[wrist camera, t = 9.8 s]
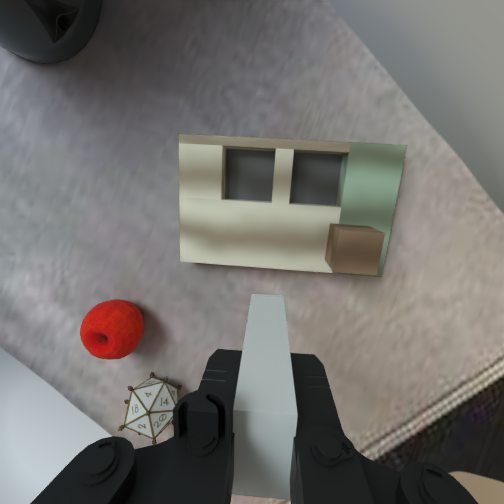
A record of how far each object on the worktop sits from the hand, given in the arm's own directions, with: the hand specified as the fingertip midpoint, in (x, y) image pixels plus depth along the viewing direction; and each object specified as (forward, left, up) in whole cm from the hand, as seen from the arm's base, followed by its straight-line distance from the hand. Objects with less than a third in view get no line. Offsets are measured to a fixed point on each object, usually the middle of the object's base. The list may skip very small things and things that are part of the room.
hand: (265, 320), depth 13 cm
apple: (+14, -20, -23) cm, 34 cm away
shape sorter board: (-4, +2, -23) cm, 23 cm away
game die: (+26, -15, -23) cm, 38 cm away
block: (0, +9, -20) cm, 22 cm away
